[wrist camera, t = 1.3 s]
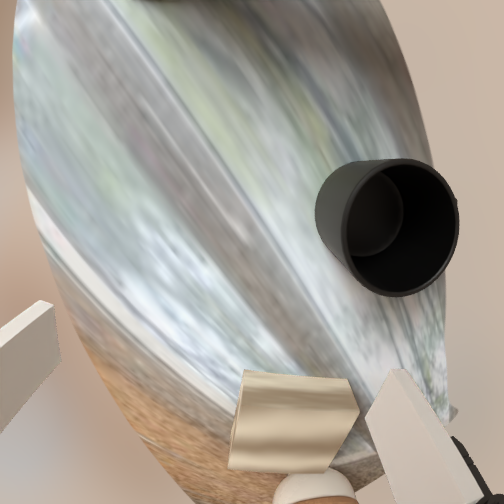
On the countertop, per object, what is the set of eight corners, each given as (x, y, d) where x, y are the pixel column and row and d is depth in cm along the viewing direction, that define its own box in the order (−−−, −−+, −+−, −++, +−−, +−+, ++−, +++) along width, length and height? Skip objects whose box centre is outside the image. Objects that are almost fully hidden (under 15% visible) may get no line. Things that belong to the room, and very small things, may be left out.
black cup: (432, 238, 27) (486, 263, 18) (327, 273, 28) (355, 316, 19) (415, 147, 25) (472, 142, 16) (301, 175, 26) (324, 177, 17)
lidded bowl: (253, 479, 37) (252, 535, 26) (311, 444, 35) (322, 508, 24) (307, 497, 39) (313, 545, 28) (363, 465, 36) (379, 517, 26)
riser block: (244, 367, 31) (241, 404, 25) (346, 377, 32) (360, 411, 26) (230, 434, 34) (227, 468, 28) (317, 440, 35) (323, 473, 29)
